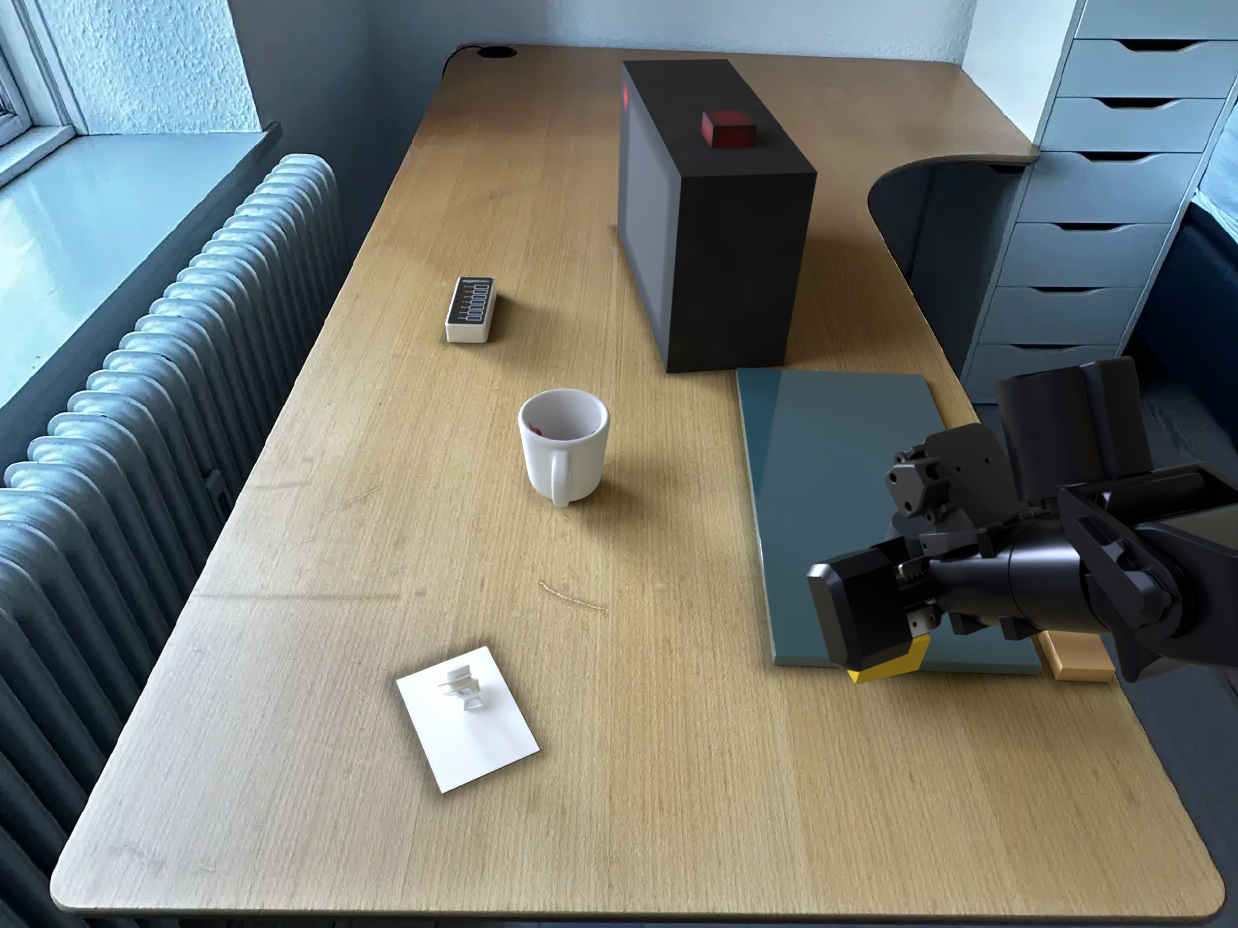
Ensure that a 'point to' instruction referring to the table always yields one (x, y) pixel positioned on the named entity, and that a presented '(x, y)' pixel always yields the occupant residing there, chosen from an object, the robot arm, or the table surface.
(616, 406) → the table surface
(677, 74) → the speaker
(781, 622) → the plate
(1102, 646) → the tan square block
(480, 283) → the multiport hub
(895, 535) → the sponge wand
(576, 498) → the cup
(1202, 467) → the robot arm
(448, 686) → the white plastic small piece
